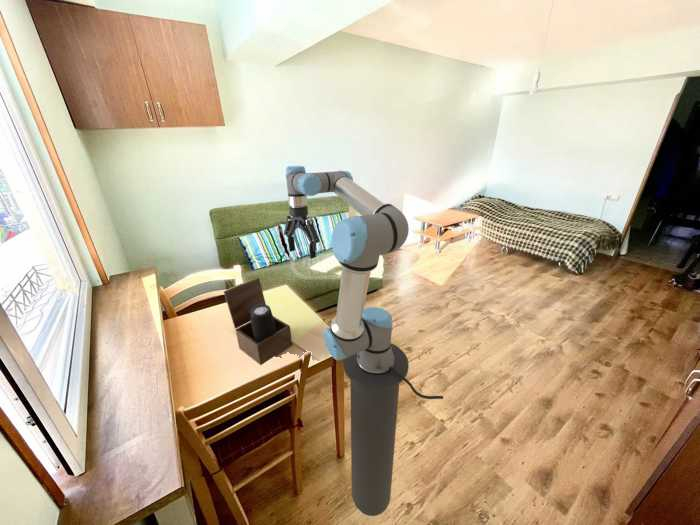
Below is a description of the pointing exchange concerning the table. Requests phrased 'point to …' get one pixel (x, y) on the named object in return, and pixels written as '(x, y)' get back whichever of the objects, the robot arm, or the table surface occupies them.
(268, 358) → the chest
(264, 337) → the portable speaker
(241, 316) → the lid
